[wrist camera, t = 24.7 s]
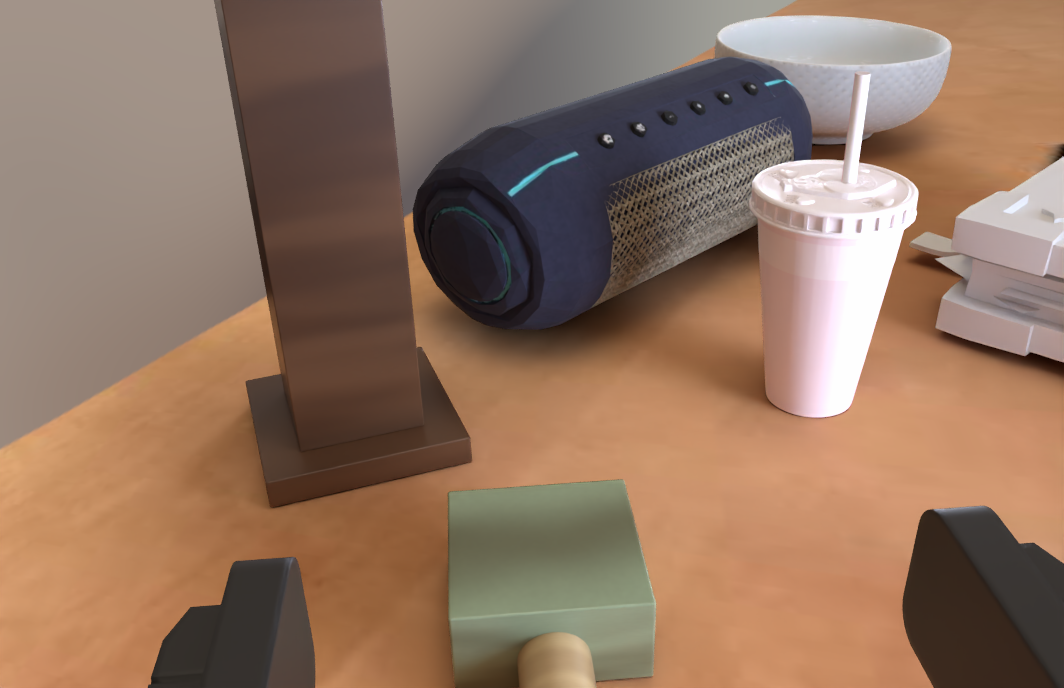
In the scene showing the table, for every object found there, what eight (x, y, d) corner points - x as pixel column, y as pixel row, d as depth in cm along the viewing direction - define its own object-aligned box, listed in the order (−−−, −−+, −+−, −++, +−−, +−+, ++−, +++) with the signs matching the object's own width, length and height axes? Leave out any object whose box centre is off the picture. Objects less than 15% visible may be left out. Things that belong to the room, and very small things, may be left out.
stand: (487, 490, 38) (417, -571, 23) (276, 541, 36) (49, -596, 21) (423, 368, 47) (342, -474, 32) (249, 403, 44) (72, -484, 29)
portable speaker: (538, 385, 45) (532, 174, 40) (401, 317, 51) (381, 127, 46) (832, 224, 60) (853, 57, 55) (698, 187, 66) (706, 33, 62)
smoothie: (904, 434, 41) (966, 94, 34) (746, 437, 41) (776, 99, 34) (862, 356, 46) (908, 51, 40) (724, 358, 47) (745, 55, 40)
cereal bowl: (883, 182, 66) (899, 75, 63) (669, 139, 75) (672, 44, 72) (968, 119, 78) (985, 26, 74) (773, 89, 87) (780, 5, 83)
